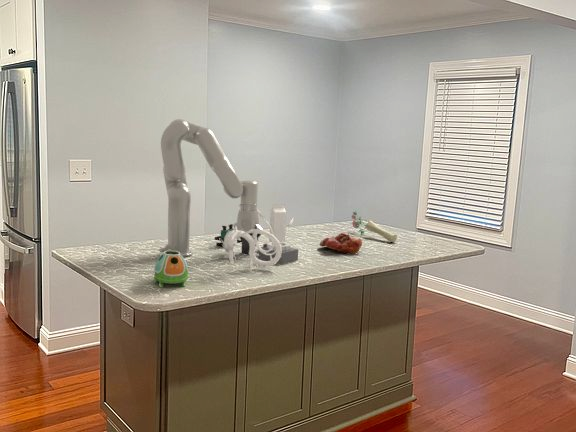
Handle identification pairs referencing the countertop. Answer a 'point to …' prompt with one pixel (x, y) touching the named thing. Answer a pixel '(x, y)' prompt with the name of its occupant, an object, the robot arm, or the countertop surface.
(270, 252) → the low charcoal box
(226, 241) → the serpentine dragon sculpture
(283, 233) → the milk
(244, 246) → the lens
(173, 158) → the robot arm
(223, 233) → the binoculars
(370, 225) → the flower vase
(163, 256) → the turtle holder
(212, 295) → the countertop surface
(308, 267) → the countertop surface
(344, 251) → the meat
